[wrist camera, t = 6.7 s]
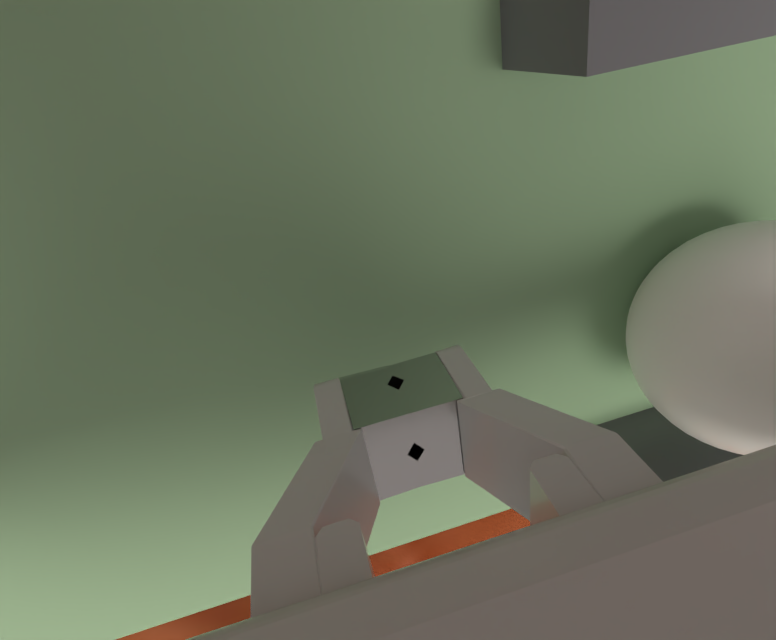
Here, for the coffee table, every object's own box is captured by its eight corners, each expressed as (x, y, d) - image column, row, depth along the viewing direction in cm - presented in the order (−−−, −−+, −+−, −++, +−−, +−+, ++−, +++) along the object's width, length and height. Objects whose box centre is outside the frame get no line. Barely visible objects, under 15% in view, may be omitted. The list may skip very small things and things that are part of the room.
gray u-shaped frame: (492, -6, 9) (590, -27, 6) (917, -88, 10) (1149, -134, 7) (514, 470, 15) (567, 556, 13) (771, 388, 16) (868, 451, 14)
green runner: (-962, 143, 6) (-1018, 148, 6) (958, -178, 9) (977, -184, 9) (-107, 702, 14) (-113, 714, 13) (770, 414, 17) (778, 420, 17)
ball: (590, 249, 10) (947, 340, 6) (703, 173, 12) (1009, 208, 9) (576, 428, 12) (822, 561, 9) (672, 337, 15) (896, 414, 11)
